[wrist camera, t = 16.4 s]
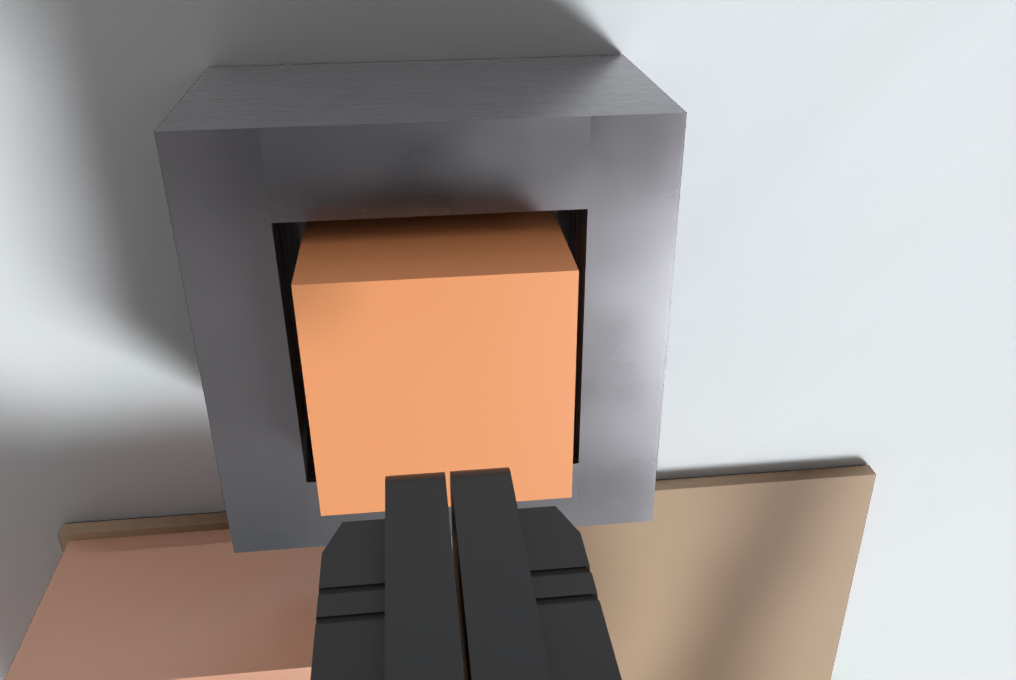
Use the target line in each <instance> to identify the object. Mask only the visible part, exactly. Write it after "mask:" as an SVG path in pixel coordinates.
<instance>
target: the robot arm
mask: <svg viewBox="0 0 1016 680" xmlns="http://www.w3.org/2000/svg"><path fill="white" fill-rule="evenodd" d="M450 499H451V525H452V541H451V530H450V520H449V509H448V498H447V487H446V477H445V472H436V473H421V474H407V475H393V476H385V519H376V520H363V521H349V522H342V524H341V525H340V527H339V528H338V530H337V531H336V533H335V534H334V536H333V537H332V539H331V540H330V542H329V543H328V545H327V546H326V548H325V549H324V551H323V552H322V556H321V567H320V578H319V595H318V601H317V612H316V625H315V634H314V645H313V656H312V667H311V678H310V680H622V679H621V675H620V672H619V668H618V664H617V661H616V657H615V654H614V650H613V647H612V643H611V639H610V636H609V632H608V629H607V625H606V622H605V618H604V615H603V611H602V607H601V604H600V600H598V595H597V594H598V593H597V590H596V586H595V583H594V579H593V575H592V572H591V573H590V565H589V561H588V558H587V554H586V550H585V547H584V543H583V540H582V536H581V533H580V532H579V531H578V530H577V529H576V527H575V526H574V525H573V524H572V523H571V522H570V521H569V520H568V519H567V518H566V517H565V516H564V515H563V513H562V512H561V511H560V510H559V509H558V508H557V507H556V506H547V507H534V508H520V509H518V507H517V502H516V497H515V492H514V487H513V481H512V476H511V472H510V469H509V467H504V468H490V469H475V470H461V471H450ZM452 551H453V552H452Z"/></svg>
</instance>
